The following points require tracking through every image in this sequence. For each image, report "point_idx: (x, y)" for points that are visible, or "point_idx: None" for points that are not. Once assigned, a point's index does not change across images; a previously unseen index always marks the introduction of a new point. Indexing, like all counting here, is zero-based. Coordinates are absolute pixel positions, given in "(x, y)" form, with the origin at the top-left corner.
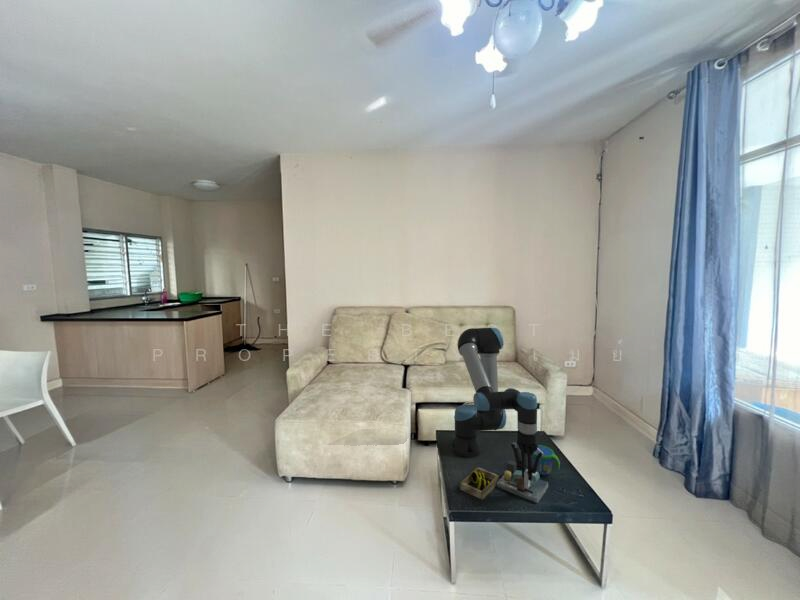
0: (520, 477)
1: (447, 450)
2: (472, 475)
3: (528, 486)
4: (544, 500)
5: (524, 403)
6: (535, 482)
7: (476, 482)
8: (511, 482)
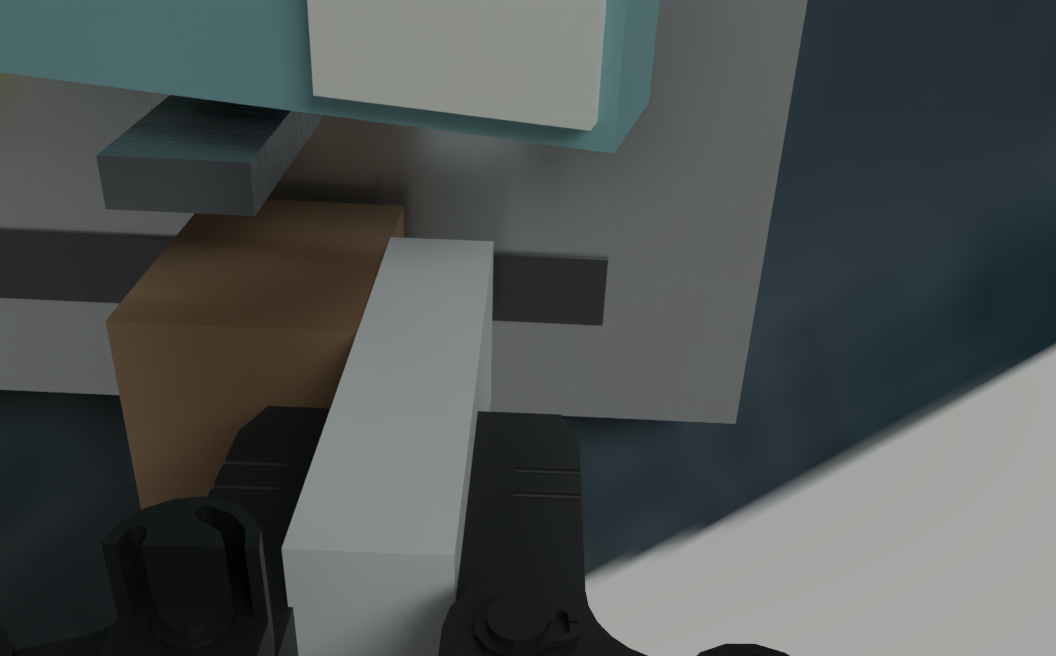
0: (195, 408)
1: None
2: None
3: (489, 372)
4: (836, 186)
5: None
6: None
7: None
8: (2, 188)
